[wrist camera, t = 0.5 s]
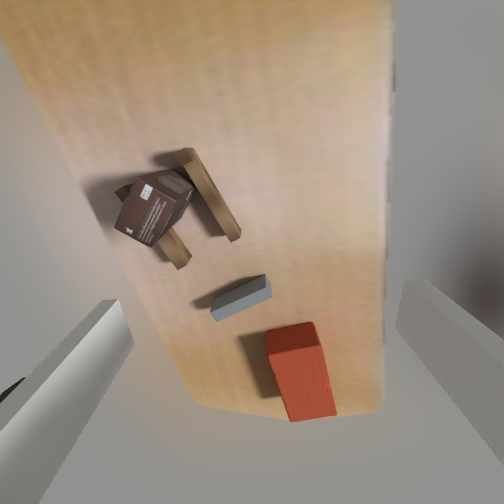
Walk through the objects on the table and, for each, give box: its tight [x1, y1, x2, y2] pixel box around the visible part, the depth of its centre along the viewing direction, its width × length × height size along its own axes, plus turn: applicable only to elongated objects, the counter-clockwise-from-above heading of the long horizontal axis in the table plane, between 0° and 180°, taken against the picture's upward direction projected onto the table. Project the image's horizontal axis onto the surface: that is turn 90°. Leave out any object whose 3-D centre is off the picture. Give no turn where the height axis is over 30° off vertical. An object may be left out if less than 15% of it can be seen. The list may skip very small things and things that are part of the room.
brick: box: [266, 322, 337, 422], centre depth 44 cm, size 18×9×6 cm, turn 16°
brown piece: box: [115, 148, 241, 270], centre depth 33 cm, size 13×11×4 cm
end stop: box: [210, 275, 272, 322], centre depth 38 cm, size 2×10×4 cm, turn 119°
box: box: [114, 169, 197, 247], centre depth 28 cm, size 6×4×12 cm
